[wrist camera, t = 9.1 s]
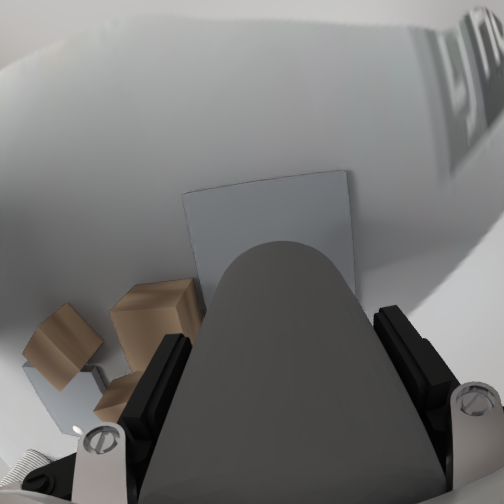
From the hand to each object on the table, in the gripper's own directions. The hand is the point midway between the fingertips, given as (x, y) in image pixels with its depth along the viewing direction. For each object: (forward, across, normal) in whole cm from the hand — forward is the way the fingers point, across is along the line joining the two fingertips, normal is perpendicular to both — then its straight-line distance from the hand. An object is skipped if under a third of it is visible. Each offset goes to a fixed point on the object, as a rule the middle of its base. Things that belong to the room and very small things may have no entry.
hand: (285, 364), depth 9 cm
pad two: (+11, +22, +13) cm, 28 cm away
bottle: (+5, 0, 0) cm, 5 cm away
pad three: (+12, 0, 0) cm, 12 cm away
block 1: (+12, +18, +5) cm, 22 cm away
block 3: (+12, +8, +3) cm, 15 cm away
